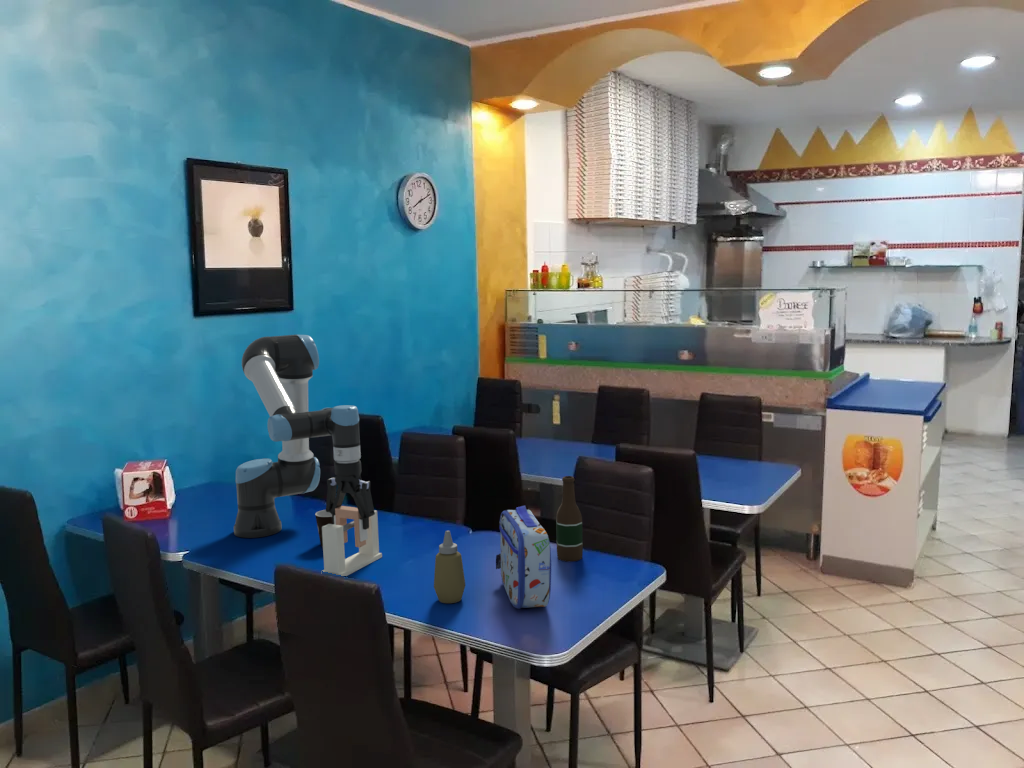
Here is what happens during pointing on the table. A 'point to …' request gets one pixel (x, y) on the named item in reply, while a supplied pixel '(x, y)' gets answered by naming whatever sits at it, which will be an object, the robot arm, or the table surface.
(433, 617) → the table surface
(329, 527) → the rod bracket
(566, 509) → the beer bottle
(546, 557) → the lunch box
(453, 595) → the squeeze bottle
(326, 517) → the coffee mug
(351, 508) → the arch
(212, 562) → the table surface
